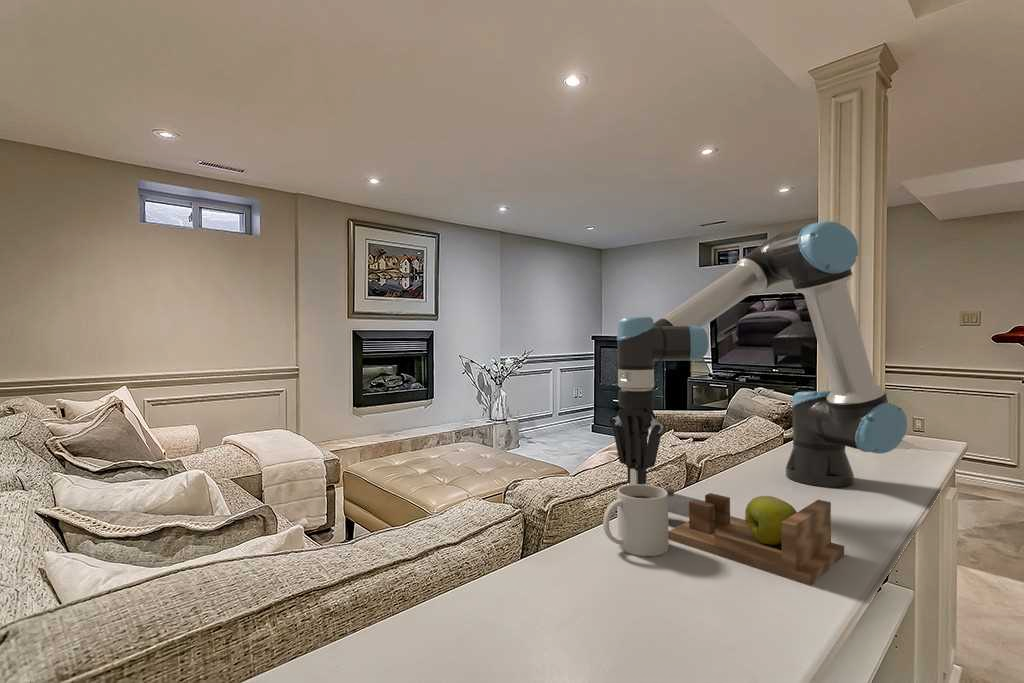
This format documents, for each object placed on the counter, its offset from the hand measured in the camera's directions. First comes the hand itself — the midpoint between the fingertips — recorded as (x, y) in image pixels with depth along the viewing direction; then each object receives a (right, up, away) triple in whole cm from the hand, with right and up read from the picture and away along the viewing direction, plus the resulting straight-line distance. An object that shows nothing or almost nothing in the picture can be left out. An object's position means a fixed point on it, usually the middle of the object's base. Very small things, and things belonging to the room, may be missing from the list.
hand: (637, 498), depth 109 cm
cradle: (+16, -3, -18) cm, 25 cm away
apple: (+18, -2, -21) cm, 28 cm away
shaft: (+8, -1, -9) cm, 11 cm away
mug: (-4, -3, -18) cm, 19 cm away
